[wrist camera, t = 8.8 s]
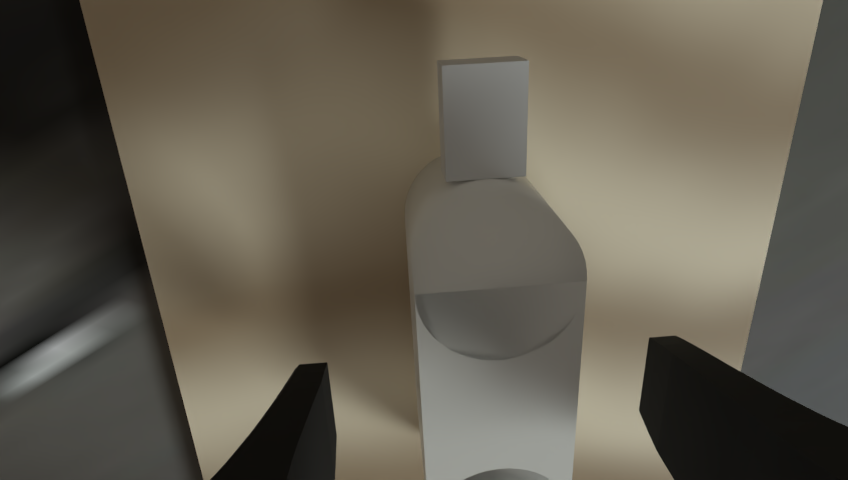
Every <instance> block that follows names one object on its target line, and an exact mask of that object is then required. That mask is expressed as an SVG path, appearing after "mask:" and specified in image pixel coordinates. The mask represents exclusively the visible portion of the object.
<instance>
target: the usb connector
mask: <svg viewBox="0 0 848 480" xmlns="http://www.w3.org/2000/svg"><path fill="white" fill-rule="evenodd" d="M437 73H438V100H439V126H440V153H441V156H440V157H438V158H436V159H435V160H433V161H432V162H430V163H429V164H428V165H427V166H426V167H425V168H424V169H423V170H421V172H420V173H419V174H418V175H417V177H416V178H415V180H414V181H413V183H412V185H411V187H410V189H409V191H408V194H407V198H406V203H405V229H406V244H407V259H408V274H409V289H410V305H411V320H412V335H413V350H414V365H415V380H416V395H417V410H418V420H419V431H420V441H421V451H422V461H423V472H424V480H572V474H573V461H574V448H575V434H576V421H577V408H578V394H579V381H580V368H581V354H582V341H583V328H584V314H585V301H586V288H587V267H586V261H585V258H584V254H583V251H582V249H581V247H580V245H579V243H578V241H577V240H576V238H575V237H574V236H573V234H572V233H571V232H570V230H569V229H568V228H567V227H566V225H565V224H564V223H563V222H562V221H561V219H560V218H559V217H558V216H557V214H556V213H555V212H554V211H553V210H552V208H551V207H550V206H549V205H548V203H547V202H546V201H545V200H544V198H543V197H542V196H541V195H540V194H539V192H538V191H537V190H536V189H535V187H534V186H533V185H532V184H531V183H530V181H529V180H528V179H527V178H526V164H527V124H528V83H529V60H527V59H524V58H522V57H520V56H504V57H487V58H470V59H453V60H437Z"/></svg>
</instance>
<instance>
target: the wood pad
mask: <svg viewBox="0 0 848 480" xmlns="http://www.w3.org/2000/svg"><path fill="white" fill-rule="evenodd" d="M79 1H80V5H81V8H82V12H83V16H84V20H85V24H86V28H87V32H88V35H89V39H90V43H91V47H92V51H93V55H94V59H95V63H96V66H97V70H98V74H99V78H100V82H101V86H102V90H103V93H104V97H105V101H106V105H107V109H108V113H109V117H110V121H111V124H112V128H113V132H114V136H115V140H116V144H117V148H118V151H119V155H120V159H121V163H122V167H123V171H124V175H125V178H126V182H127V186H128V190H129V194H130V198H131V202H132V206H133V209H134V213H135V217H136V221H137V225H138V229H139V233H140V236H141V240H142V244H143V248H144V252H145V256H146V260H147V264H148V267H149V271H150V275H151V279H152V283H153V287H154V291H155V294H156V298H157V302H158V306H159V310H160V314H161V318H162V321H163V325H164V329H165V333H166V337H167V341H168V345H169V349H170V352H171V356H172V360H173V364H174V368H175V372H176V376H177V379H178V383H179V387H180V391H181V395H182V399H183V403H184V406H185V410H186V414H187V418H188V422H189V426H190V430H191V434H192V437H193V441H194V445H195V449H196V453H197V457H198V461H199V464H200V468H201V472H202V476H203V480H210V479H211V478H212V477H213V476H214V475H215V474H216V473H217V472H218V471H219V470H220V468H221V467H222V466H223V465H224V464H225V463H226V462H227V461H228V459H229V458H230V457H231V456H232V455H233V453H234V452H235V451H236V450H237V449H238V447H239V446H240V445H241V444H242V443H243V441H244V440H245V439H246V438H247V437H248V435H249V434H250V433H251V432H252V430H253V429H254V428H255V426H256V425H257V424H258V422H259V421H260V420H261V418H262V417H263V415H264V414H265V413H266V411H267V410H268V409H269V407H270V406H271V405H272V403H273V402H274V400H275V399H276V397H277V396H278V394H279V393H280V391H281V390H282V388H283V387H284V385H285V384H286V382H287V381H288V379H289V378H290V376H291V374H292V373H293V371H294V370H295V368H296V367H297V366H298V365H299V364H311V363H324V362H327V363H328V371H329V379H330V387H331V395H332V402H333V410H334V418H335V426H336V434H337V443H336V469H335V480H424V472H423V461H422V451H421V441H420V431H419V420H418V410H417V395H416V380H415V365H414V350H413V335H412V320H411V305H410V289H409V274H408V259H407V244H406V229H405V203H406V198H407V194H408V191H409V189H410V187H411V185H412V183H413V181H414V180H415V178H416V177H417V175H418V174H419V173H420V172H421V170H423V169H424V168H425V167H426V166H427V165H428V164H429V163H430V162H432V161H433V160H435V159H436V158H438V157H440V156H441V153H440V126H439V100H438V73H437V60H453V59H470V58H487V57H504V56H520V57H522V58H524V59H527V60H529V83H528V124H527V164H526V178H527V179H528V180H529V181H530V183H531V184H532V185H533V186H534V187H535V189H536V190H537V191H538V192H539V194H540V195H541V196H542V197H543V198H544V200H545V201H546V202H547V203H548V205H549V206H550V207H551V208H552V210H553V211H554V212H555V213H556V214H557V216H558V217H559V218H560V219H561V221H562V222H563V223H564V224H565V225H566V227H567V228H568V229H569V230H570V232H571V233H572V234H573V236H574V237H575V238H576V240H577V241H578V243H579V245H580V247H581V249H582V251H583V254H584V258H585V261H586V267H587V288H586V301H585V314H584V328H583V341H582V354H581V368H580V381H579V394H578V408H577V421H576V434H575V448H574V461H573V474H572V480H674V479H673V477H672V475H671V474H670V472H669V471H668V469H667V467H666V466H665V464H664V462H663V461H662V459H661V457H660V456H659V454H658V452H657V450H656V448H655V446H654V444H653V442H652V440H651V437H650V435H649V433H648V431H647V428H646V426H645V424H644V421H643V419H642V417H641V414H640V412H639V406H640V399H641V391H642V384H643V377H644V370H645V363H646V356H647V349H648V342H649V337H662V336H675V335H676V336H678V337H680V338H682V339H684V340H686V341H688V342H690V343H691V344H693V345H695V346H697V347H699V348H700V349H702V350H704V351H706V352H707V353H709V354H711V355H713V356H714V357H716V358H718V359H719V360H721V361H723V362H725V363H726V364H728V365H730V366H732V367H733V368H735V369H737V370H738V371H741V367H742V362H743V358H744V353H745V349H746V344H747V340H748V335H749V331H750V326H751V322H752V317H753V313H754V308H755V304H756V299H757V295H758V290H759V286H760V281H761V277H762V272H763V268H764V263H765V259H766V254H767V250H768V245H769V241H770V236H771V232H772V227H773V223H774V218H775V214H776V209H777V205H778V200H779V196H780V191H781V187H782V182H783V178H784V173H785V169H786V164H787V160H788V155H789V151H790V146H791V142H792V137H793V133H794V128H795V124H796V119H797V115H798V110H799V106H800V101H801V97H802V92H803V88H804V83H805V79H806V74H807V70H808V65H809V61H810V56H811V52H812V48H813V43H814V39H815V34H816V30H817V25H818V21H819V16H820V12H821V7H822V3H823V0H79Z"/></svg>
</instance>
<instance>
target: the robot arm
mask: <svg viewBox="0 0 848 480" xmlns="http://www.w3.org/2000/svg"><path fill="white" fill-rule="evenodd" d="M639 412H640V414H641V417H642V419H643V421H644V424H645V426H646V428H647V431H648V433H649V435H650V437H651V440H652V442H653V444H654V446H655V448H656V450H657V452H658V454H659V456H660V457H661V459H662V461H663V462H664V464H665V466H666V467H667V469H668V471H669V472H670V474H671V475H672V477H673V479H674V480H848V427H847V426H845V425H842V424H840V423H838V422H836V421H833V420H831V419H829V418H827V417H825V416H823V415H821V414H819V413H817V412H815V411H813V410H811V409H809V408H807V407H805V406H803V405H801V404H799V403H797V402H795V401H793V400H791V399H789V398H787V397H785V396H783V395H782V394H780V393H778V392H776V391H774V390H772V389H770V388H769V387H767V386H765V385H763V384H761V383H760V382H758V381H756V380H754V379H753V378H751V377H749V376H747V375H745V374H744V373H742V372H740V371H738V370H737V369H735V368H733V367H732V366H730V365H728V364H726V363H725V362H723V361H721V360H719V359H718V358H716V357H714V356H713V355H711V354H709V353H707V352H706V351H704V350H702V349H700V348H699V347H697V346H695V345H693V344H691V343H690V342H688V341H686V340H684V339H682V338H680V337H678V336H676V335H675V336H662V337H649V342H648V349H647V356H646V363H645V370H644V377H643V384H642V391H641V399H640V406H639ZM336 443H337V434H336V426H335V418H334V410H333V402H332V395H331V387H330V379H329V371H328V363H327V362H324V363H311V364H299V365H298V366H297V367H296V368H295V370H294V371H293V373H292V374H291V376H290V378H289V379H288V381H287V382H286V384H285V385H284V387H283V388H282V390H281V391H280V393H279V394H278V396H277V397H276V399H275V400H274V402H273V403H272V405H271V406H270V407H269V409H268V410H267V411H266V413H265V414H264V415H263V417H262V418H261V420H260V421H259V422H258V424H257V425H256V426H255V428H254V429H253V430H252V432H251V433H250V434H249V435H248V437H247V438H246V439H245V440H244V441H243V443H242V444H241V445H240V446H239V447H238V449H237V450H236V451H235V452H234V453H233V455H232V456H231V457H230V458H229V459H228V461H227V462H226V463H225V464H224V465H223V466H222V467H221V468H220V470H219V471H218V472H217V473H216V474H215V475H214V476H213V477H212V478H211V479H210V480H335V469H336Z"/></svg>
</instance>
